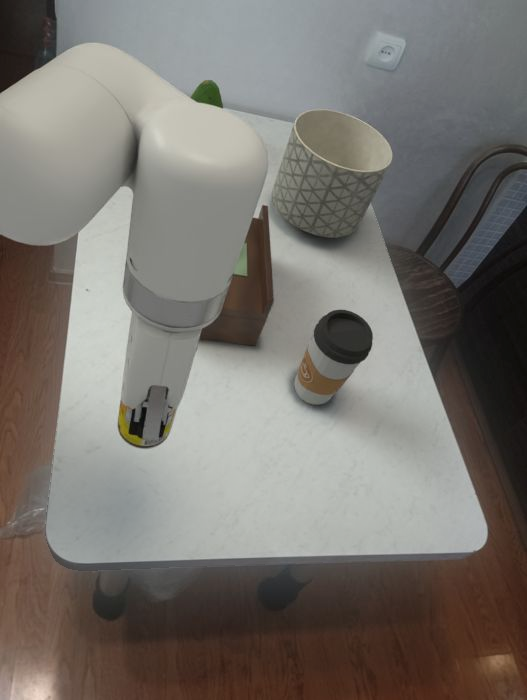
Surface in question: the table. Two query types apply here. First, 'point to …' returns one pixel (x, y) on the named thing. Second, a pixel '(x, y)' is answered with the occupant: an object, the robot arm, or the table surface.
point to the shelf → (247, 290)
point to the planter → (330, 172)
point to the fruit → (208, 94)
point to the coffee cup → (332, 355)
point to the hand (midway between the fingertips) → (148, 403)
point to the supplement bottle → (134, 440)
